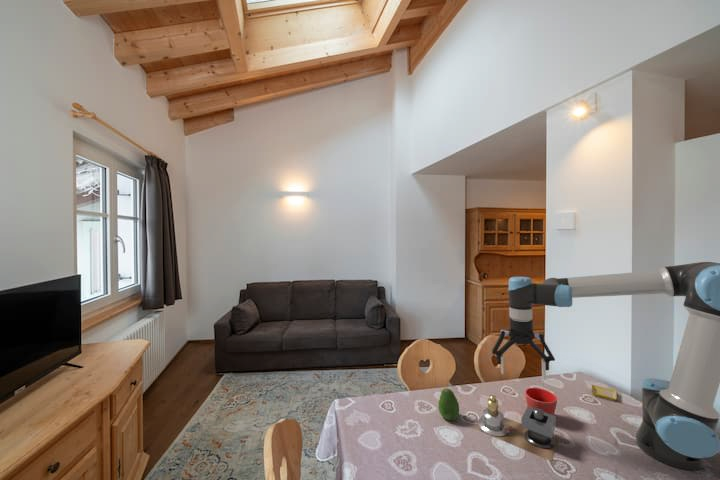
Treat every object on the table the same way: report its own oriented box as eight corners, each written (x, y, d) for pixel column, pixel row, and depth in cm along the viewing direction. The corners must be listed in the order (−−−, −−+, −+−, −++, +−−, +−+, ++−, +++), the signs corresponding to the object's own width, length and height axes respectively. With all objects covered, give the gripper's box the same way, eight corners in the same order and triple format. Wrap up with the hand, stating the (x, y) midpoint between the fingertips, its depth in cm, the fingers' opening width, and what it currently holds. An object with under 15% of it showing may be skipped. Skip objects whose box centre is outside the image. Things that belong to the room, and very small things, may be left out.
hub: (513, 425, 110) (512, 395, 110) (504, 441, 102) (504, 408, 102) (483, 414, 117) (482, 385, 117) (473, 428, 109) (472, 397, 109)
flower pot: (563, 429, 108) (562, 403, 108) (531, 426, 110) (530, 401, 110) (550, 411, 119) (550, 388, 119) (521, 409, 121) (520, 386, 121)
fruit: (442, 410, 122) (442, 382, 122) (461, 417, 117) (461, 387, 117) (436, 420, 115) (435, 391, 115) (455, 428, 111) (455, 397, 110)
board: (558, 439, 103) (558, 437, 103) (551, 463, 92) (551, 461, 92) (486, 412, 120) (486, 410, 120) (473, 430, 109) (473, 428, 109)
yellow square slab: (616, 394, 130) (616, 390, 130) (616, 403, 123) (616, 398, 123) (592, 388, 135) (591, 384, 135) (591, 396, 129) (590, 392, 129)
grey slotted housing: (556, 424, 102) (556, 416, 102) (551, 438, 96) (551, 429, 96) (527, 414, 108) (527, 406, 108) (521, 426, 102) (521, 418, 102)
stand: (556, 438, 102) (555, 409, 102) (552, 453, 96) (551, 422, 96) (527, 427, 108) (527, 400, 108) (521, 440, 102) (521, 411, 102)
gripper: (558, 318, 106) (560, 375, 106) (484, 313, 116) (486, 366, 116) (563, 324, 99) (565, 386, 99) (484, 319, 109) (486, 374, 109)
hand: (522, 375), depth 107 cm, fingers open, 13 cm apart
